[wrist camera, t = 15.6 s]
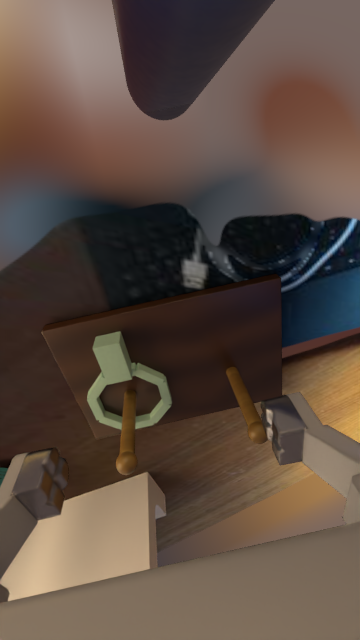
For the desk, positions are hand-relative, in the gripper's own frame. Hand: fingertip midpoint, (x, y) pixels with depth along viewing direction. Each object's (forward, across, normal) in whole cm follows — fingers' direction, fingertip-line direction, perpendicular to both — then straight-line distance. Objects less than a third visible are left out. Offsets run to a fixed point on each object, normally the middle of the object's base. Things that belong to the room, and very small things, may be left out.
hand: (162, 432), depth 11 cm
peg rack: (+22, 0, +15) cm, 27 cm away
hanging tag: (+21, +7, +15) cm, 27 cm away
